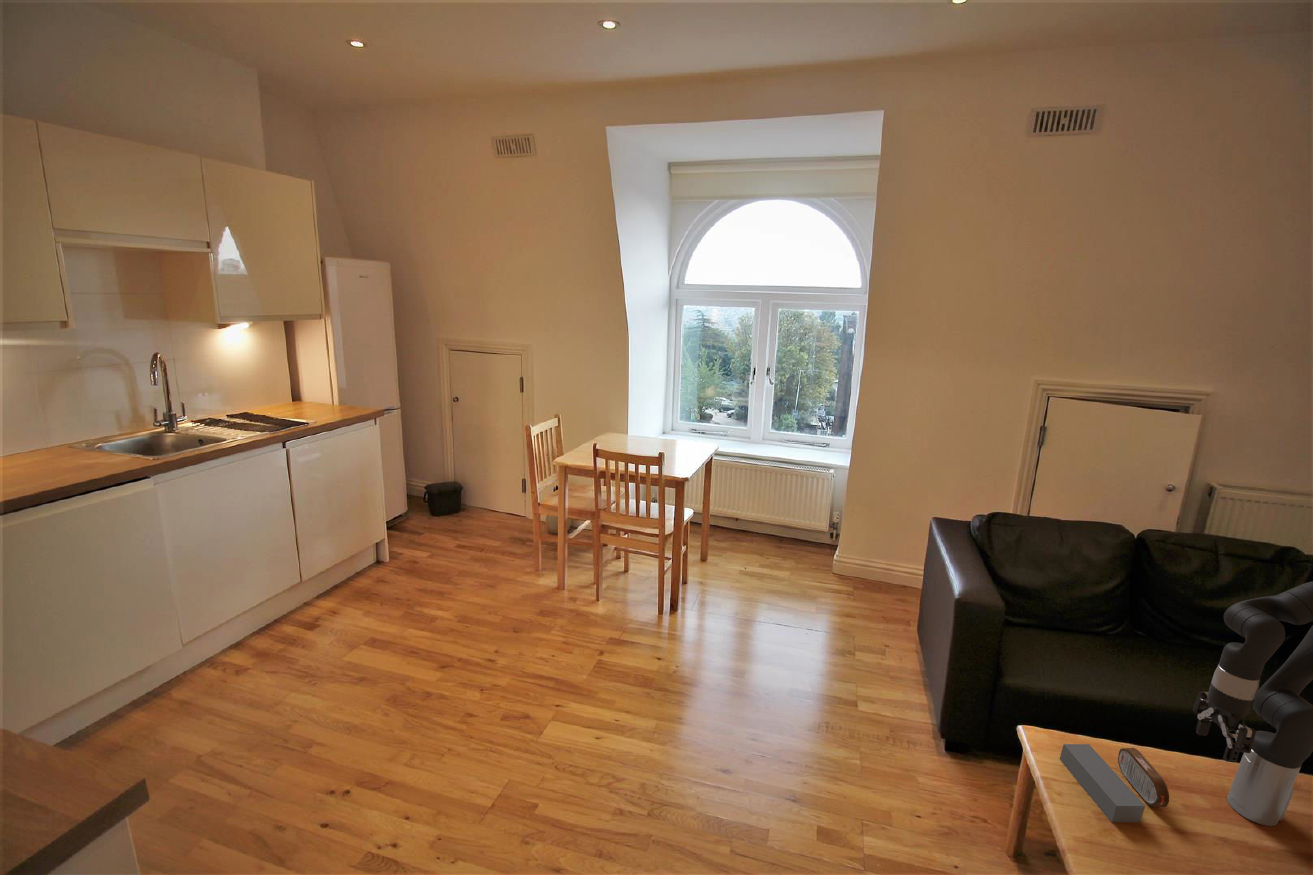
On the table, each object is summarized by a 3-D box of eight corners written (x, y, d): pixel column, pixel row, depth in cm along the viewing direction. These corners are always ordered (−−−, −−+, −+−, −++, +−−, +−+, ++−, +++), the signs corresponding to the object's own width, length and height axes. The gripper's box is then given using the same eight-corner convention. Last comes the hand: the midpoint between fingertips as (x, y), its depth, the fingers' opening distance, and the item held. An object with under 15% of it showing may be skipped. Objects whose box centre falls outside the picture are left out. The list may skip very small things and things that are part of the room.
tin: (1165, 815, 148) (1175, 788, 145) (1152, 814, 148) (1161, 787, 145) (1124, 765, 162) (1132, 740, 159) (1112, 765, 162) (1119, 739, 160)
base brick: (1085, 759, 164) (1089, 744, 162) (1140, 822, 146) (1145, 805, 144) (1059, 758, 164) (1063, 743, 162) (1111, 822, 145) (1116, 805, 144)
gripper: (1278, 710, 133) (1256, 772, 137) (1227, 671, 146) (1209, 728, 150) (1240, 706, 133) (1220, 768, 137) (1193, 667, 147) (1176, 724, 151)
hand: (1214, 747), depth 144 cm, fingers open, 8 cm apart
